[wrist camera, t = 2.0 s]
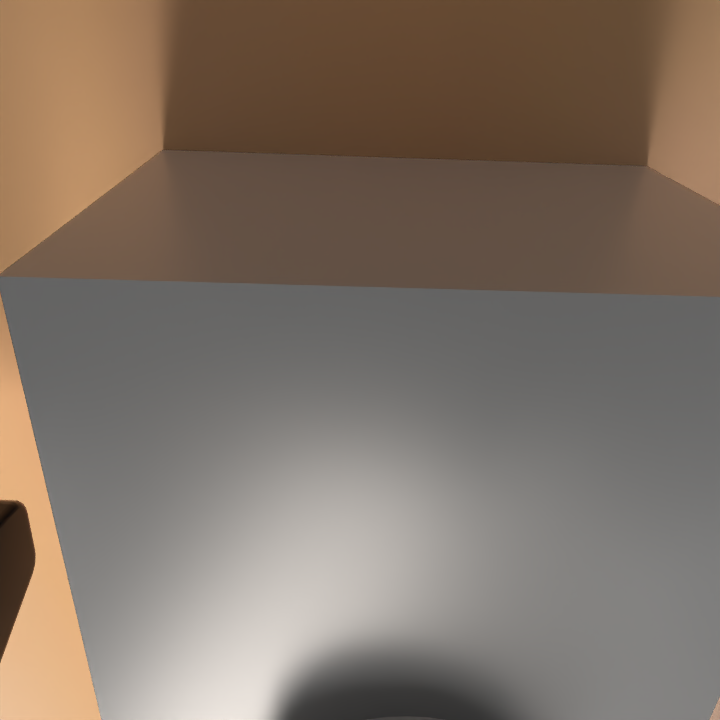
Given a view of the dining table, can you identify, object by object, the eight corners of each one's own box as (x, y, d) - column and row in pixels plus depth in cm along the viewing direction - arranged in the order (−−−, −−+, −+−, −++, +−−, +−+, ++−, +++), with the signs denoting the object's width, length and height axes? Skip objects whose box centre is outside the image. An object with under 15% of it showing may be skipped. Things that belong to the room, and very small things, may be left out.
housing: (641, 162, 8) (1029, 374, 4) (539, 607, 12) (663, 1003, 7) (166, 146, 8) (-93, 346, 3) (211, 601, 12) (117, 1003, 7)
